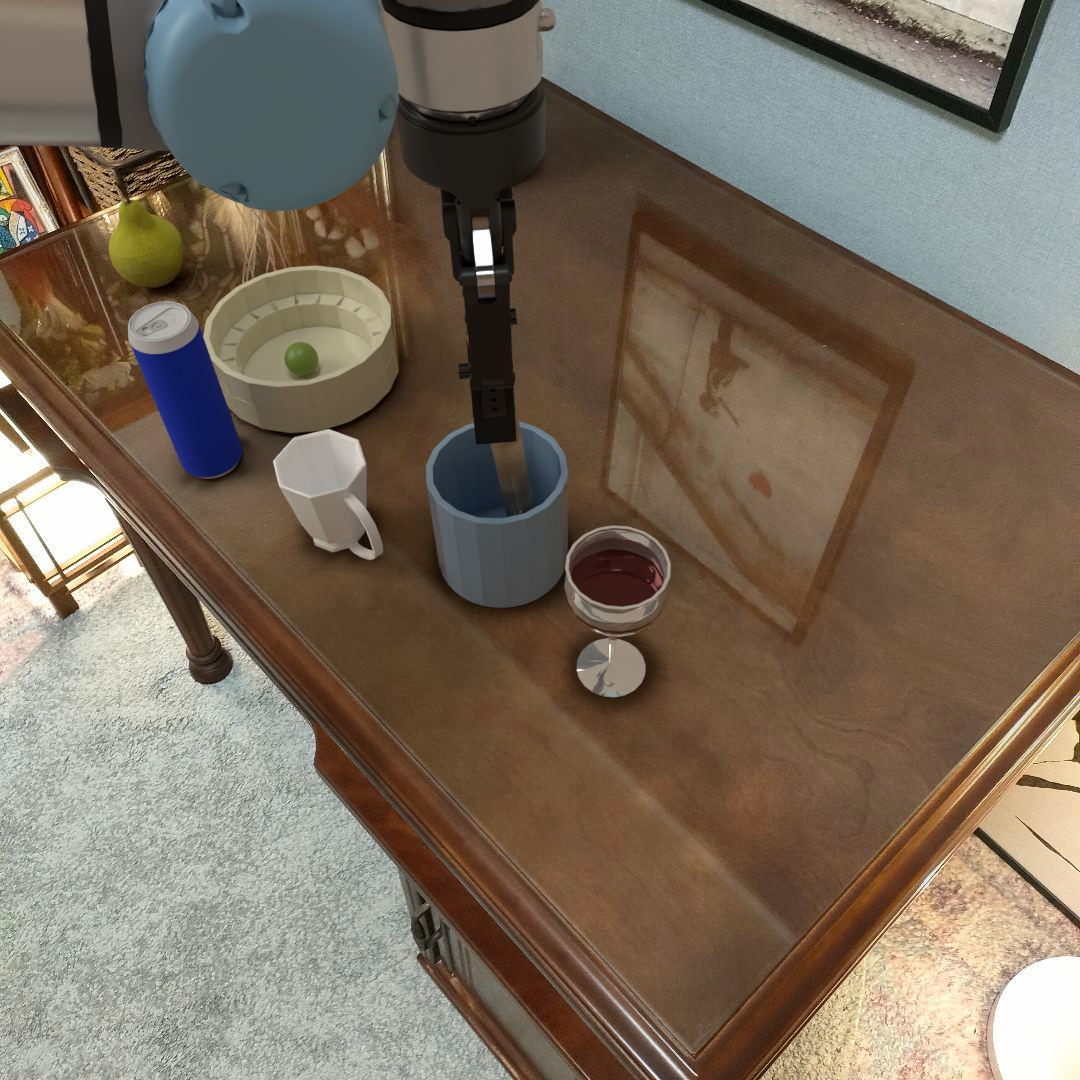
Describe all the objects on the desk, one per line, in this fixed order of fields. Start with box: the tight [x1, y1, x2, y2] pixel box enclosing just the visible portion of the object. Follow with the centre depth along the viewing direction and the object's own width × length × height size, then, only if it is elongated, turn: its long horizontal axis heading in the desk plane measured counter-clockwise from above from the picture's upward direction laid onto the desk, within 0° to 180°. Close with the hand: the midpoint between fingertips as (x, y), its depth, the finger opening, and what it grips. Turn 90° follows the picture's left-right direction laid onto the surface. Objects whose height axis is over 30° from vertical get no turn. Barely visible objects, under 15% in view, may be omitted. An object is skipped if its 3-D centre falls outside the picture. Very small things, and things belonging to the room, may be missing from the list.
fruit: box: [108, 181, 185, 289], centre depth 98 cm, size 7×7×12 cm
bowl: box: [202, 265, 400, 434], centre depth 91 cm, size 16×16×6 cm
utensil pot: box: [425, 420, 569, 609], centre depth 76 cm, size 10×10×10 cm
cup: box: [272, 428, 384, 561], centre depth 78 cm, size 7×10×8 cm
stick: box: [466, 335, 535, 517], centre depth 70 cm, size 2×2×20 cm
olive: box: [284, 342, 318, 376], centre depth 92 cm, size 3×3×3 cm
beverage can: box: [127, 300, 243, 480], centre depth 81 cm, size 5×5×15 cm
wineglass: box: [563, 525, 672, 698], centre depth 69 cm, size 7×7×12 cm
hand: (494, 423), depth 69 cm, fingers closed on stick, 2 cm apart
